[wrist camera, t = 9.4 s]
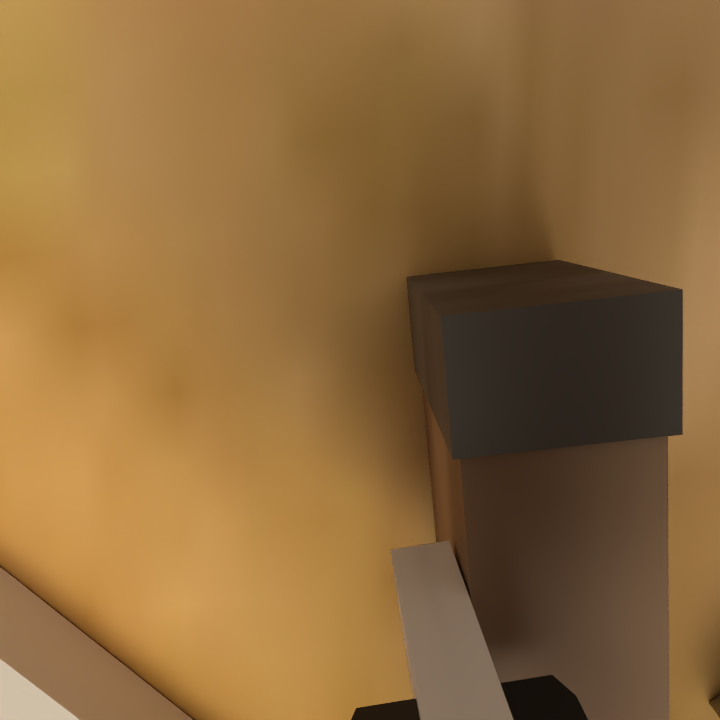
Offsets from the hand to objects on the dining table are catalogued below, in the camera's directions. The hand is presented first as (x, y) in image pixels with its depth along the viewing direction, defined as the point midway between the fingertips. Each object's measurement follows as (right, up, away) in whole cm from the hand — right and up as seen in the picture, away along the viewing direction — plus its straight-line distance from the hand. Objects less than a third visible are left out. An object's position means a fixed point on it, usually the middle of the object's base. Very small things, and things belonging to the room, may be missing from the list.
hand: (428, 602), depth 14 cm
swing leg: (+2, -1, +4) cm, 5 cm away
